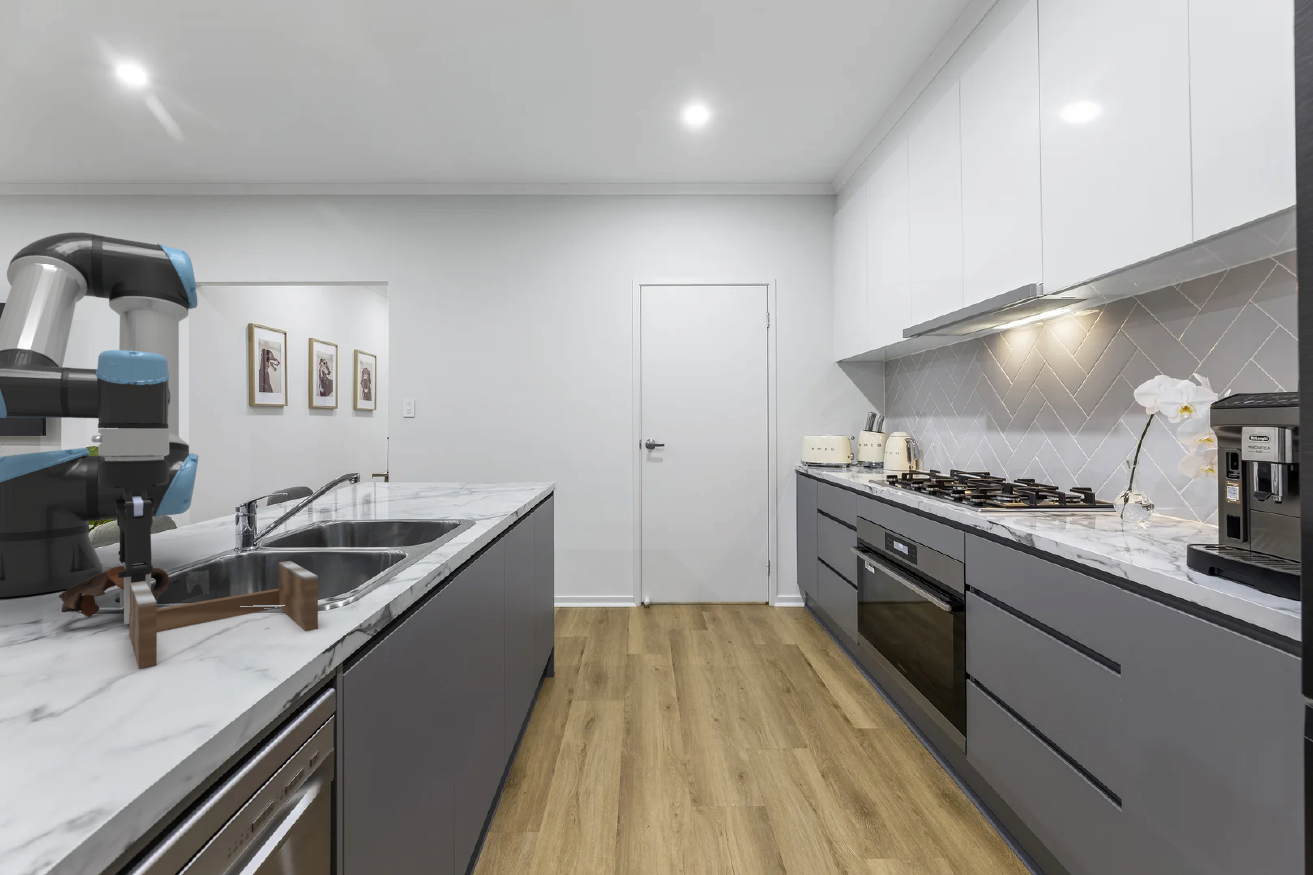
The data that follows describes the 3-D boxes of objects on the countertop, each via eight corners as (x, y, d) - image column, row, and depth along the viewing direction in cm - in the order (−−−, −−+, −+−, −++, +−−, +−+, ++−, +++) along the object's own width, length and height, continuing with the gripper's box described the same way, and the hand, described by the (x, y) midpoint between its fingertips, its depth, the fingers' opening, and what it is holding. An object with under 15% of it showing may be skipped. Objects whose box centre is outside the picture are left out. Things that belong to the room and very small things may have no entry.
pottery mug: (113, 632, 74) (75, 580, 73) (71, 658, 77) (33, 608, 76) (198, 588, 86) (166, 544, 85) (159, 612, 88) (127, 569, 87)
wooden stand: (129, 635, 74) (129, 580, 74) (287, 606, 87) (287, 559, 87) (138, 668, 63) (138, 604, 63) (317, 629, 76) (317, 575, 76)
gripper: (95, 457, 86) (96, 602, 86) (100, 462, 70) (101, 639, 71) (160, 455, 91) (161, 592, 91) (178, 460, 76) (178, 625, 76)
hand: (134, 613), depth 81 cm, fingers closed on pottery mug, 9 cm apart
